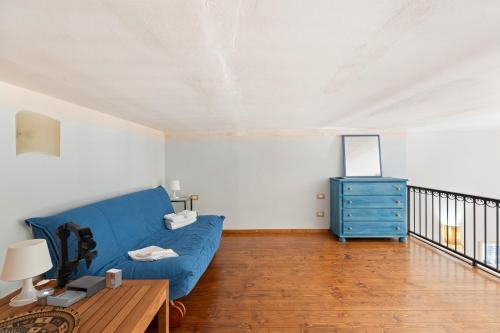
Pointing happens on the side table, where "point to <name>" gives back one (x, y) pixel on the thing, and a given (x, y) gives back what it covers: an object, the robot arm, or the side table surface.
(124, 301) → the side table surface
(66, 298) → the tray
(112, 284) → the small box
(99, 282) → the housing
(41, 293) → the disc
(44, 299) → the pedestal
